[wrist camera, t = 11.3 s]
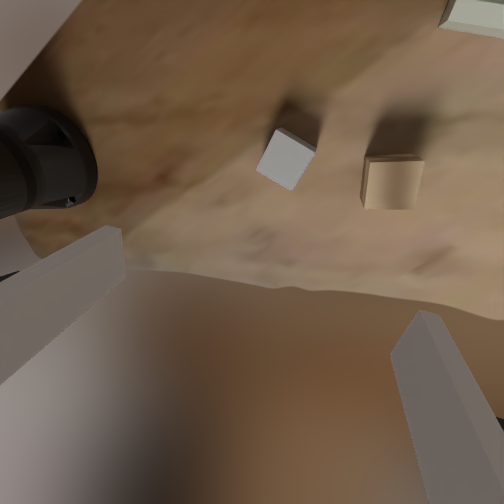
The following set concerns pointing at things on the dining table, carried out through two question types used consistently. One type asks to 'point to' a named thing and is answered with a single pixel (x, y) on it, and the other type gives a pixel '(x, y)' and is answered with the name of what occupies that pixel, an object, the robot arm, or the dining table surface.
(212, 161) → the dining table surface
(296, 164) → the grey block
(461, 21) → the tray
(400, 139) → the dining table surface
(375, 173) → the oak block
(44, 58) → the dining table surface
